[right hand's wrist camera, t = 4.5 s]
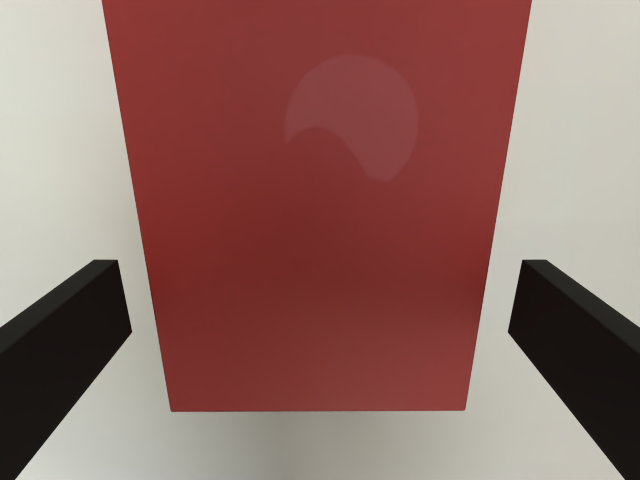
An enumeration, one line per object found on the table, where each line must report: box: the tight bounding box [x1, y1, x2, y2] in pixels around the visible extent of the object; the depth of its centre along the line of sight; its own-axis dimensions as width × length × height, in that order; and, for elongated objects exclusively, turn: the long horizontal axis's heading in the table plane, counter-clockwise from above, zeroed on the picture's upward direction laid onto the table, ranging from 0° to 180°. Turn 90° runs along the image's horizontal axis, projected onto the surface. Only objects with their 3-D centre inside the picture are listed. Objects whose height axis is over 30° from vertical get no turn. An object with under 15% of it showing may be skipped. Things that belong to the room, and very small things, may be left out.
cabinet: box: [102, 0, 532, 412], centre depth 16 cm, size 17×11×11 cm, turn 0°
